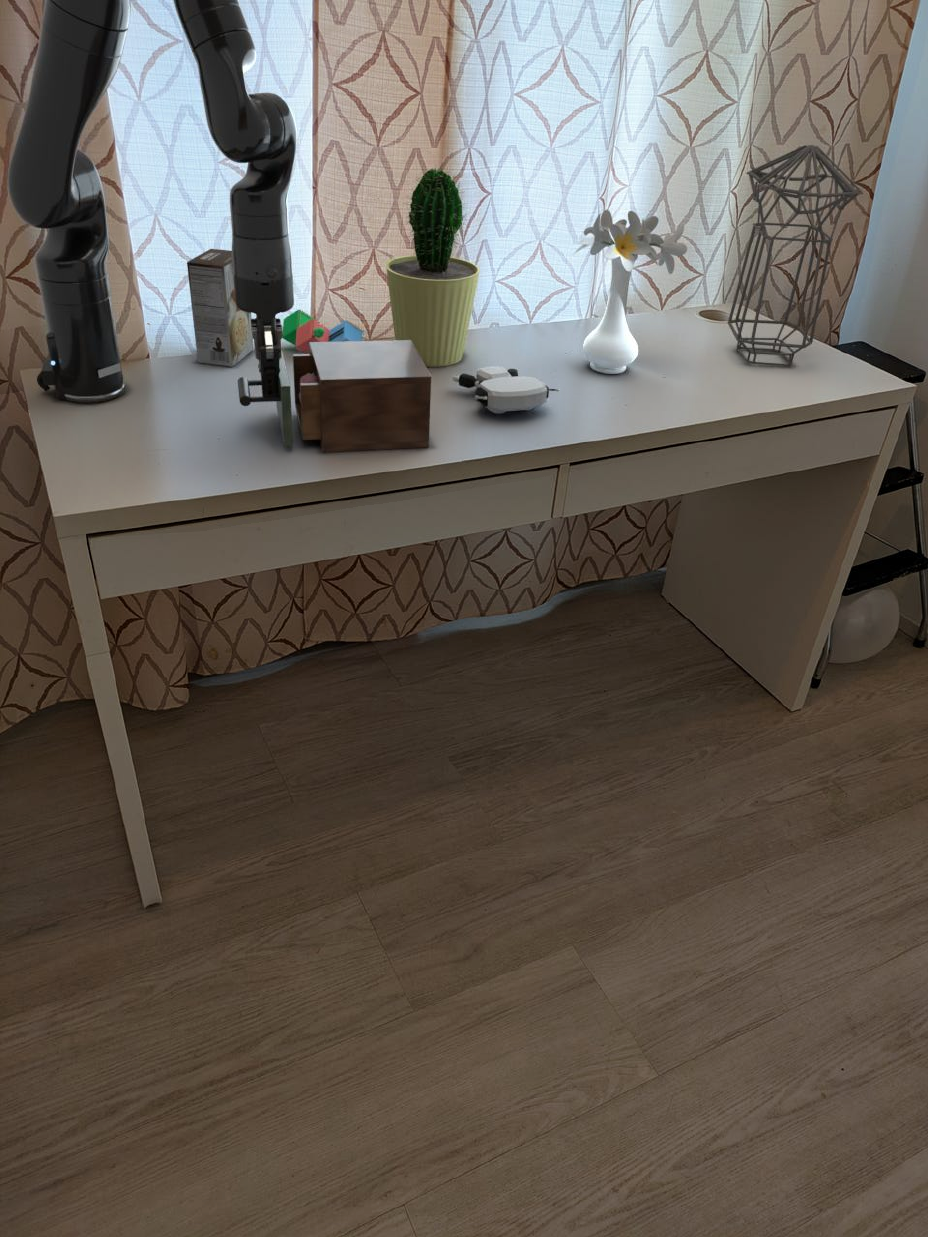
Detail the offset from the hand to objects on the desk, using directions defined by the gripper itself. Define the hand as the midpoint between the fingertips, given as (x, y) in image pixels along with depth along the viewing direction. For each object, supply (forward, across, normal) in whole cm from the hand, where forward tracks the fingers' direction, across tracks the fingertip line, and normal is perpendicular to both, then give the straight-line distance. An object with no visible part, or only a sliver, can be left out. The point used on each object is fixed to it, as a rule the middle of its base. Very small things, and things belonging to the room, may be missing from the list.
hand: (270, 398), depth 134 cm
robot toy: (+5, -8, +36) cm, 37 cm away
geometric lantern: (+5, -24, +88) cm, 92 cm away
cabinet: (+5, 0, +14) cm, 15 cm away
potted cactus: (+5, -30, +28) cm, 42 cm away
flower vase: (+5, -22, +58) cm, 63 cm away
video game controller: (+3, 0, +7) cm, 8 cm away
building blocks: (+5, -32, +10) cm, 34 cm away
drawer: (+4, 0, +5) cm, 7 cm away
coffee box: (+5, -32, -6) cm, 33 cm away
